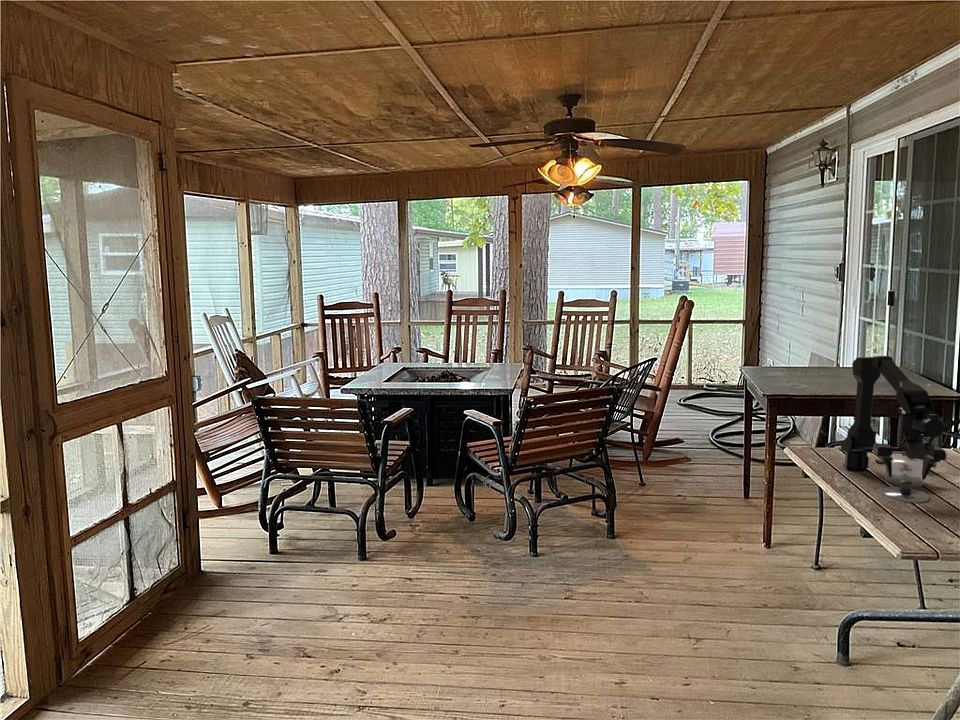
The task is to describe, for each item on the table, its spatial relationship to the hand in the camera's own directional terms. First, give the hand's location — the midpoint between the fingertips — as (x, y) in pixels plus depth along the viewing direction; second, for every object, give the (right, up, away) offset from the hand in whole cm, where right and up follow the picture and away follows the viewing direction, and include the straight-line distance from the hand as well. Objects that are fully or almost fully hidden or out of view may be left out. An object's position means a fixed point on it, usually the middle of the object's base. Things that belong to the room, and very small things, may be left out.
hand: (906, 478), depth 215 cm
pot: (+8, -3, +14) cm, 16 cm away
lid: (0, -6, +1) cm, 6 cm away
